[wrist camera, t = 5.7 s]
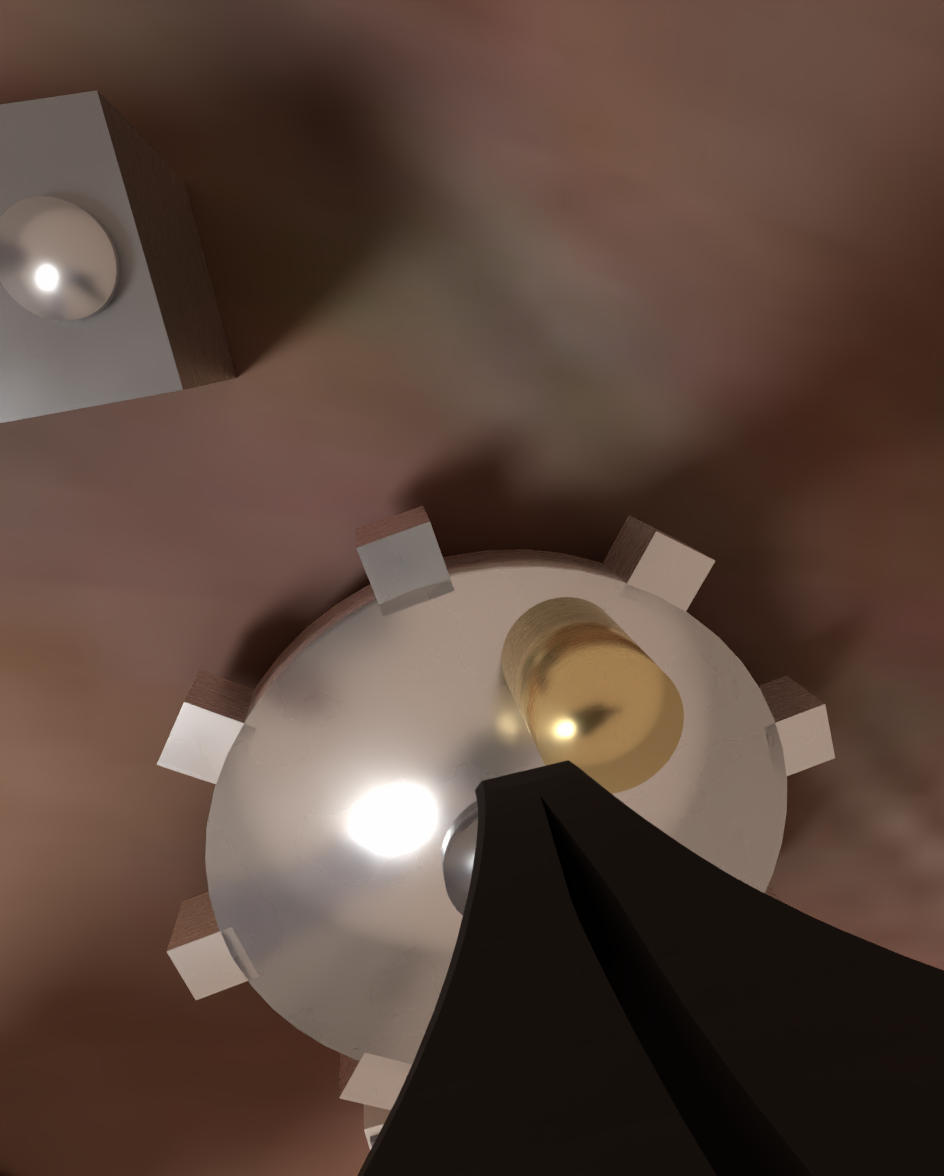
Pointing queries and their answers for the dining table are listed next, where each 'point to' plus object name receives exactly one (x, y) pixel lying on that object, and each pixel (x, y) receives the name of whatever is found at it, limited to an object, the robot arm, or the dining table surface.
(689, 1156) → the robot arm
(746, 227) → the dining table surface
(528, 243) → the dining table surface
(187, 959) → the sprocket wheel
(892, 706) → the dining table surface
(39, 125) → the striped block with rivets
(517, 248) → the dining table surface
